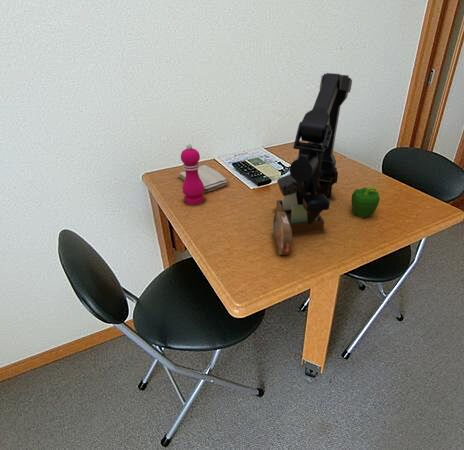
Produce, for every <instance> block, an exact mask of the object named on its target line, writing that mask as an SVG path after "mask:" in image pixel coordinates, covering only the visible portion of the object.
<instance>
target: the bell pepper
mask: <svg viewBox="0 0 464 450" xmlns="http://www.w3.org/2000/svg"><path fill="white" fill-rule="evenodd" d="M377 190H378V188H377V187H375V186H370V187H368V188H367V187H361V188H355V189H354V191H353V192H352V193H351V199H350V200H351V209H352V212H353V214H354V216H356V217H358V218H362V219H364V218H368V217H369V218H370V217H372V216H373V215H374V214H375V212H376V210H377V208H378V207H379V203H380V199H381V198H380V194H379V191H377Z"/></svg>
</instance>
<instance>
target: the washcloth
mask: <svg viewBox="0 0 464 450" xmlns="http://www.w3.org/2000/svg"><path fill="white" fill-rule="evenodd" d="M198 175H199V177H200V179H201V181H202V183H203V185H204V192H203V193H202V194H203V195H204V194H207V193H209V192H212V191H215V190H219V189H221V188H223V187H226V186H228V185H229V183H228V181H227V178H226V177H225V176H224V175H223V174H222V173H221V172H218V171H217V170H215V169H214V168H212V167H210V166H208V165H199V168H198ZM185 176H186V172H185V171H182V172H179V174H178V177H179V178H180V179H182V181H185Z"/></svg>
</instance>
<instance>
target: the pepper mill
mask: <svg viewBox="0 0 464 450" xmlns="http://www.w3.org/2000/svg"><path fill="white" fill-rule="evenodd" d="M200 155H201V154H200V152H199V151H198V150H197V149H195V148H193V145H192V144H191V143H187V144H186V148H185V149H183V150H182V151H181V153H180V160H181V162H182V167H183V170H184V172H186V176H185V180H183V184H182V193H183V194H184V202H185V203H186V204H188V205H191V206H196V205H200V204H202V203H203V202H204V200H205V199H204V194H203V192H204V185H203V183H202V181H201V179H200V177H199V175H198V168H199V167H200V163H199V161H200V160H201V156H200Z"/></svg>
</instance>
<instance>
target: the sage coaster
mask: <svg viewBox="0 0 464 450" xmlns="http://www.w3.org/2000/svg"><path fill="white" fill-rule="evenodd" d="M317 220H318V216H317V218H316V219H315V220H314V221H317ZM298 222H307V211H306V210H305V209H304V207H303V204H301V205H292V212H291V223H298Z"/></svg>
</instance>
